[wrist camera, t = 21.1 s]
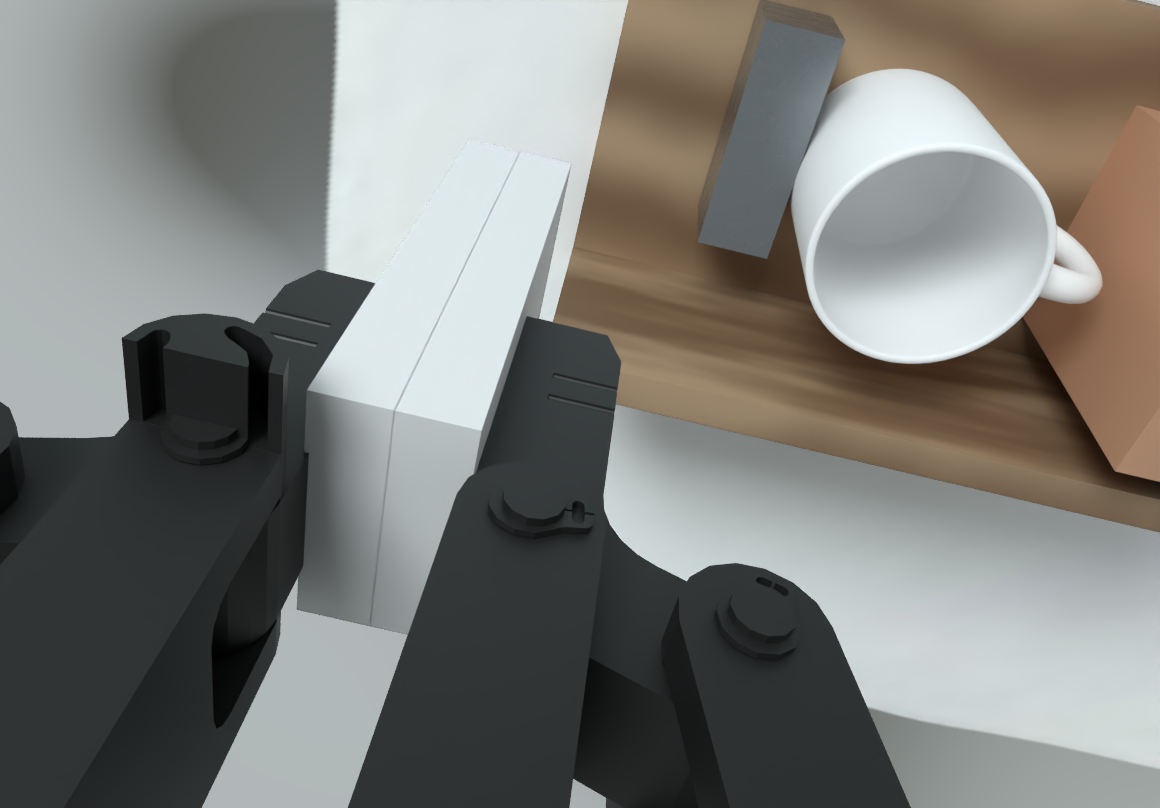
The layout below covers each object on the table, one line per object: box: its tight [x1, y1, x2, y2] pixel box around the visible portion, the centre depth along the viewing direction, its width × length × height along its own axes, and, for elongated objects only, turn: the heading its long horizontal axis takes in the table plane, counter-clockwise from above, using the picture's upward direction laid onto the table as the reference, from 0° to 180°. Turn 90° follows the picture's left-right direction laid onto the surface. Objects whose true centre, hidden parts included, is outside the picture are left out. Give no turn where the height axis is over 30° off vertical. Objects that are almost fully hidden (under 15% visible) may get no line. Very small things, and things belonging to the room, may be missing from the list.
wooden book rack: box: [553, 0, 1160, 532], centre depth 37 cm, size 17×28×12 cm, turn 78°
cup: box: [789, 69, 1102, 364], centre depth 36 cm, size 8×12×10 cm
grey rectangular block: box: [698, 0, 845, 259], centre depth 38 cm, size 9×3×4 cm, turn 168°
